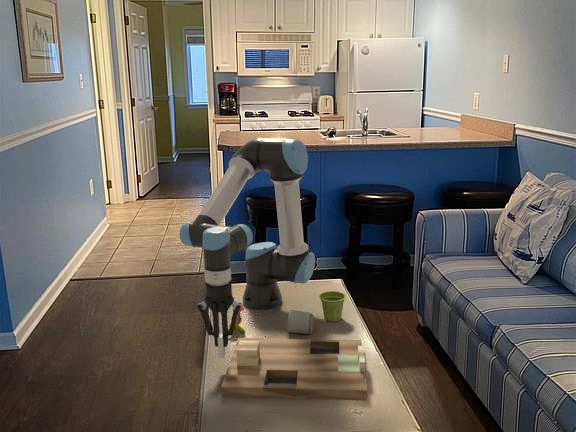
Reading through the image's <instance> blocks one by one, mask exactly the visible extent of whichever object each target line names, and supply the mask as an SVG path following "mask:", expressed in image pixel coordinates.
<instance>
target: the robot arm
mask: <svg viewBox="0 0 576 432" xmlns="http://www.w3.org/2000/svg"><path fill="white" fill-rule="evenodd" d="M308 163H309V154H308V151H307V147H306V146H305V144H304V143H303V141H301V140H299V139H296V138H289V137H285V138H284V137H282V138H281V137H256V138H254V139H252V140H249V141H247V142H246V143H245V144H243V145H242V146H241V147H240V148H239V149H238V150H237V151H236V152H235V153H234V154H233V155H232V156H231V158H230V160H229V161H228V168H227V170H226V172H225V173H224V174H223V176H222V177H221V178H220V180H219V182H218V184H217V185H216V187H215V188H214V190H213V191H212V193H211V195H210V196H209V198H208V200H207V201H206V202H205V204H204V206H203V207H202V208H201V210H200V212H199V213H198V214H197V216H196V218H195V219H194V221H186V222H184V223H182V224H181V227H180V230H179V240H180V242H181V244H183V245H185V246H187V247H192V248H199V249H200V248H201V249H202V250H203V253H202V254H203V261H204V262H203V263H204V265H203V267H204V271H203V272H204V281H205V284H204V286H205V298H204V300H203V301H200V302H199V303H198V304H197V310H198V311H199V312H200V314H201V317H202V320H203V322H204V326H205V330H206V333H207V335H208V336H213V338H214V346H215V347H216V348H217V347H218V348H217V349H218V351H217V352H218V359H224V358H225V356H226V348H228V346H229V336H230V337H231V336H233V335H232V334H233V332H234V328H235V324H236V319H237V314H238V311H239V310H240V308H241V306H242V305H243V306H245V307H246V308H249V309H252V310H269V309H274V308H276V307H278V306H280V305H281V304H282V303H283V296H282V292H281V290H280V289H281V288H280V286H279V284H278V281H282V282H289V283H294V284H306V283H308V282H309V281H310V279H311V278H312V276H313V273H314V271H315V266H316V256H315V253H313V252H312V251H311V252H309V244H307V243H306V242H304V231H303V230H304V229H303V228H304V227H303V217H302V216H303V215H302V205H301V193H300V191H301V190H300V180H301V179H302V178H303V176H304V173H305V172H306V171H307V169H308V167H309V165H308ZM258 172H267V173H268V176H269V180H270V181H271V182H272V183H273V185H274V193H275V202H276V204H275V206H276V213H277V216H276V217H277V225H278V236H279V245H277V244H276V243H275V242H273V241H272V242H271V241H263V242H258V243H254V244H252V243H253V240H254V239H253V238H254V234H253V231H252V230H251V228H250V227H249V226H248V225H247V224H244V223H243V224H242V223H241V224H240V223H239V224H234V225H233V226H229V225H228V226H227V225H222V222H223V221H224V219H225V218H226V216H227V214H228V213H229V211H230V209H231V208H232V206H233V204H234V203H235V202H236V199H237V198H238V196H239V194H240V193H241V191H242V190H243V188H244V187H245V184H246V183H247V181H248V180H250V179H252V178H253V177H254V176H255V175H256V173H258ZM244 250H245V258H244V259H245V268H246V269H245V270H246V271H245V272H246V285H245V288H244V291H243V294H242V302H238V301H235V298H234V296H233V289H232V288H233V286H232V284H233V283H232V266H231V265H232V264H231V257H232V256H234V255H236V254H238V253H240V252H242V251H244ZM232 305H233V306H232ZM207 307H208V308H209V309H210V311H211V314H212V315H211V316H212V320H211V319H210V315H209V311H208V309H207ZM231 307H232V310H233V309H234V312H233V311H232V316H231V319H232V320H230V324H229V325H228V322H229V321H228V311H229V310H230V308H231ZM219 313H220V316H221V329H222V331H221V330H220V319H219V317H220V316H219ZM229 326H230V329H229ZM228 329H229V330H228ZM220 332H221V333H220Z"/></svg>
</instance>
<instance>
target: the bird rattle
mask: <svg viewBox="0 0 576 432" xmlns="http://www.w3.org/2000/svg"><path fill="white" fill-rule="evenodd" d="M231 307H233V305H231ZM244 310H245V308H244V304H242V305H241V308H240V310H239V311H238V314H237V319H236V324H235V328H234V332H233V334H232V335H231V336H234V334H235V333H236V332H238V333H240V334H243V335H246V329H244V328H243V327H242V326H241V325H240V324H241V322H242V321H243V320H242V316H241V312H242V311H244ZM233 312H234V309H233V308H232V313H233ZM231 320H232V318H231ZM231 320H230V321H231ZM229 329H230V325H228V330H229Z"/></svg>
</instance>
